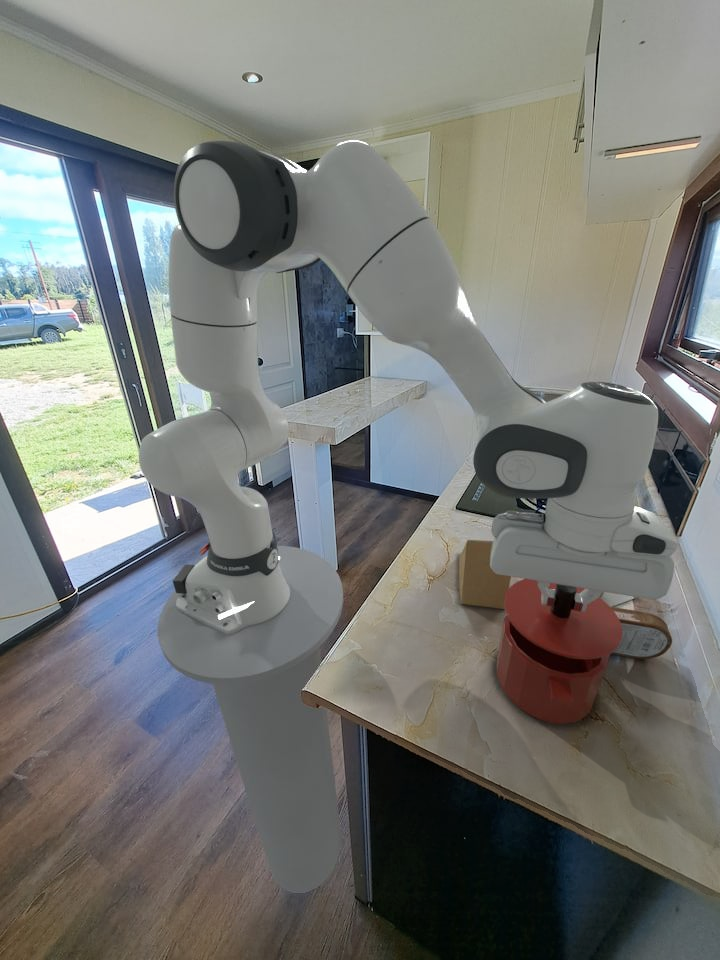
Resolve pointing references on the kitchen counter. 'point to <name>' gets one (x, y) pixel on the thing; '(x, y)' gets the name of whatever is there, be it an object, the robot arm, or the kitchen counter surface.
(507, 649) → the pot
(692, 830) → the kitchen counter surface
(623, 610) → the tin
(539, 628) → the lid
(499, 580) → the sandwich container
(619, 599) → the stacked layers on plate
